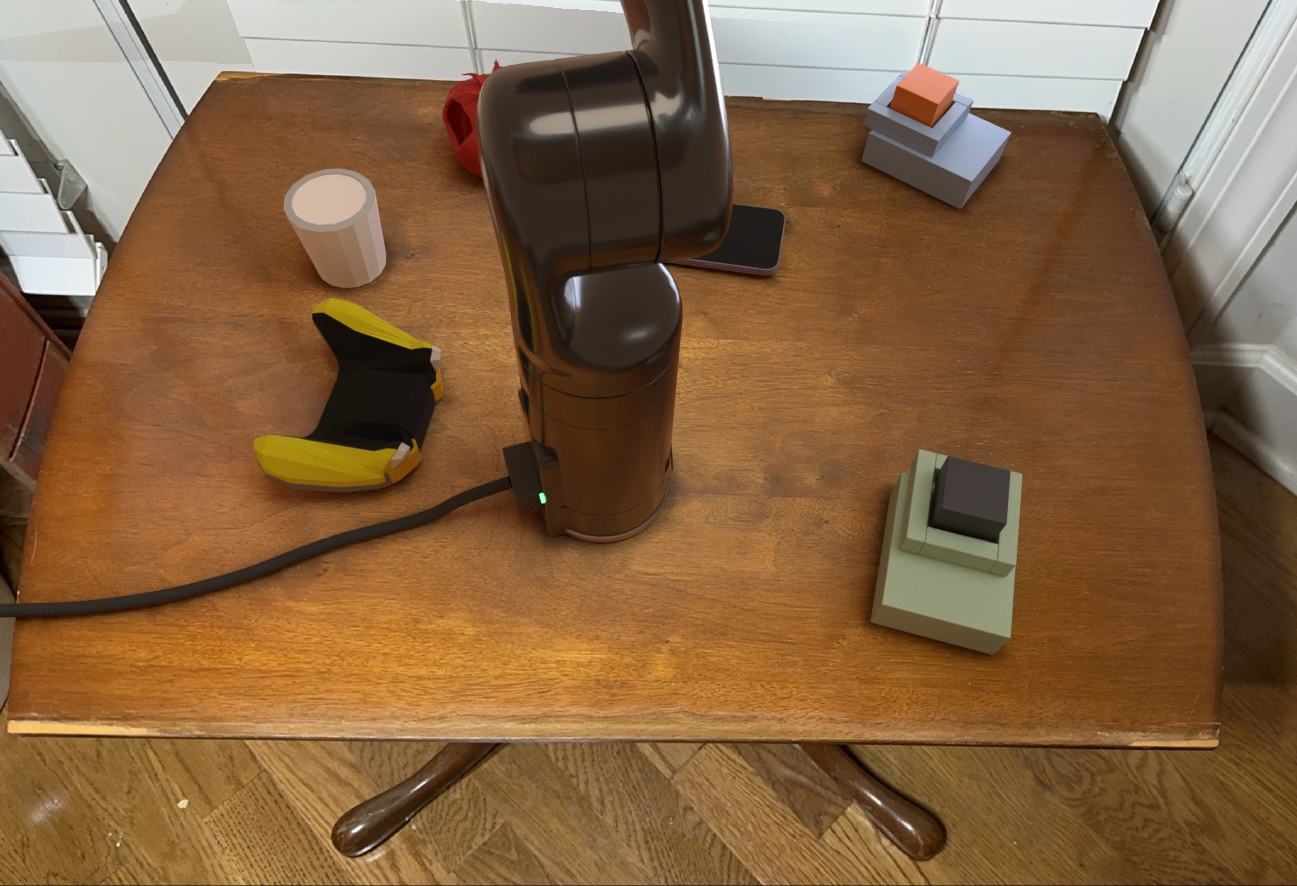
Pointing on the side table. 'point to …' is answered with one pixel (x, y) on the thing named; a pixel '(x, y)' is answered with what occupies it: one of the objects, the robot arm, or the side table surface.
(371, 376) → the gaming controller
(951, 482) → the charcoal key
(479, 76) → the pomegranate
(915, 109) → the orange key
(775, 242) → the smartphone
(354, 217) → the pale pink cylinder
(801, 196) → the side table surface
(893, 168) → the blue-grey socket block
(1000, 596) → the green stepped block
